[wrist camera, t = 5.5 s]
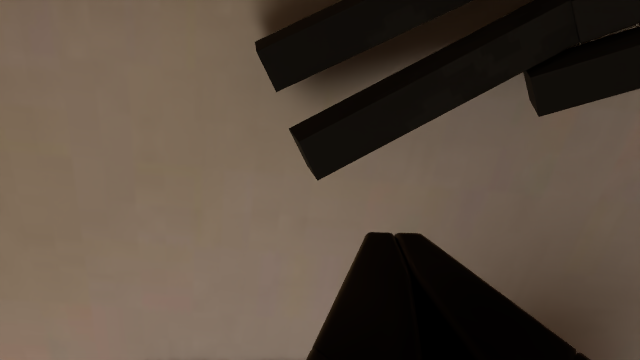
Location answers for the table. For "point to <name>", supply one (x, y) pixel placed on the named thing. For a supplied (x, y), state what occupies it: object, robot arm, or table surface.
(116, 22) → the table surface
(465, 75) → the toy
